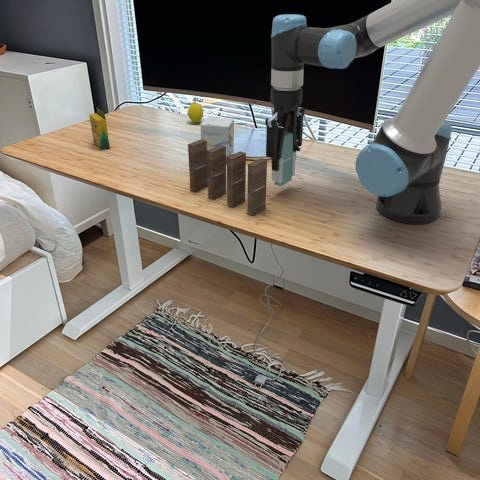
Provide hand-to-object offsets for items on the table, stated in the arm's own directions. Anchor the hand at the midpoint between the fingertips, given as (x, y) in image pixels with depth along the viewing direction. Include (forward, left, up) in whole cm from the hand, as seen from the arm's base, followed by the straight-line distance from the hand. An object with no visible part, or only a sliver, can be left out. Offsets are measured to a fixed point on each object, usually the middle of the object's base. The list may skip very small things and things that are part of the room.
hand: (283, 177), depth 127 cm
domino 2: (+12, +13, -4) cm, 18 cm away
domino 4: (-1, +13, -4) cm, 14 cm away
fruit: (+57, -25, -4) cm, 62 cm away
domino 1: (+18, +13, -4) cm, 23 cm away
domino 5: (0, 0, -1) cm, 1 cm away
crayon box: (+64, +11, -4) cm, 65 cm away
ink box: (+29, -6, -4) cm, 30 cm away
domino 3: (+5, +13, -4) cm, 15 cm away
